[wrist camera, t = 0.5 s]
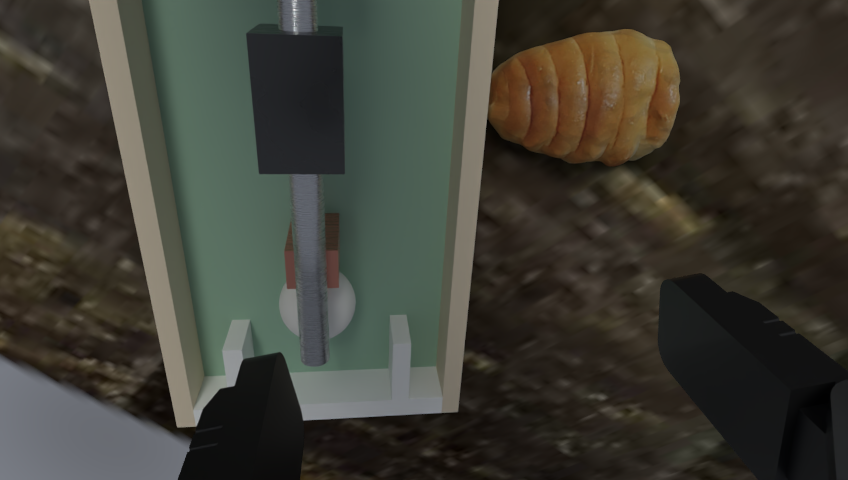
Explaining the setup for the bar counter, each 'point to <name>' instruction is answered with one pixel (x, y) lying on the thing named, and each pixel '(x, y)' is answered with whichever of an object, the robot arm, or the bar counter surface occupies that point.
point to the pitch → (270, 198)
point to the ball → (338, 307)
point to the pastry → (588, 97)
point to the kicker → (302, 151)
